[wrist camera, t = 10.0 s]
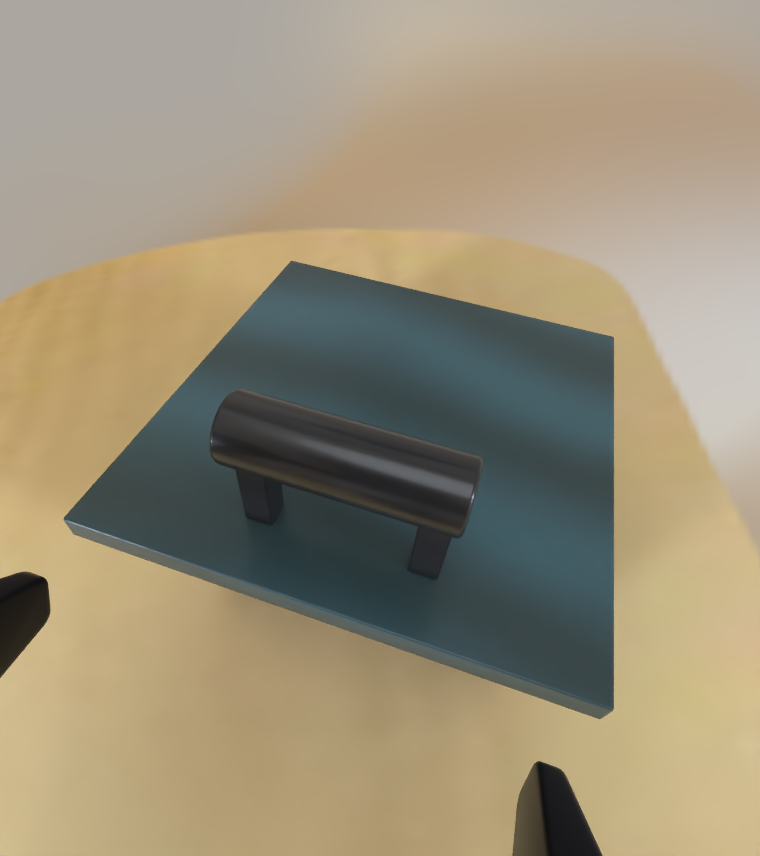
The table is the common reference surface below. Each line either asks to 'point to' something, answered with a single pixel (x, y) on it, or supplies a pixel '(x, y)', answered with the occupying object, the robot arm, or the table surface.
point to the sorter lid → (392, 479)
